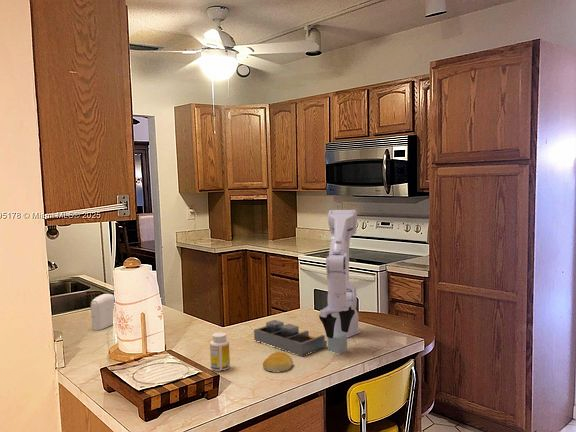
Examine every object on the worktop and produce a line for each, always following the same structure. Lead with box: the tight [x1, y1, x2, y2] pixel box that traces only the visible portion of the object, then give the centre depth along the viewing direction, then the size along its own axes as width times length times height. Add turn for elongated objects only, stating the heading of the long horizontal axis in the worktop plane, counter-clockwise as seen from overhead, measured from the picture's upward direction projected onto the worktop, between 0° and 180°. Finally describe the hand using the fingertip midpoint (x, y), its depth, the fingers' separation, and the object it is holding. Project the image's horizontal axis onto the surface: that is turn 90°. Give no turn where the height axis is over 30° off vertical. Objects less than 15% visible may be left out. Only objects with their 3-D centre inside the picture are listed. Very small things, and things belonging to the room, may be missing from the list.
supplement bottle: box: [209, 332, 231, 372], centre depth 147 cm, size 6×6×10 cm
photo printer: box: [90, 293, 115, 331], centre depth 190 cm, size 10×4×12 cm, turn 160°
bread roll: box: [262, 351, 294, 373], centre depth 147 cm, size 8×9×4 cm
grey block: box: [327, 333, 348, 355], centre depth 159 cm, size 4×4×5 cm
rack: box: [253, 319, 328, 357], centre depth 167 cm, size 12×22×6 cm, turn 46°
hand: (337, 334), depth 159 cm, fingers open, 7 cm apart
